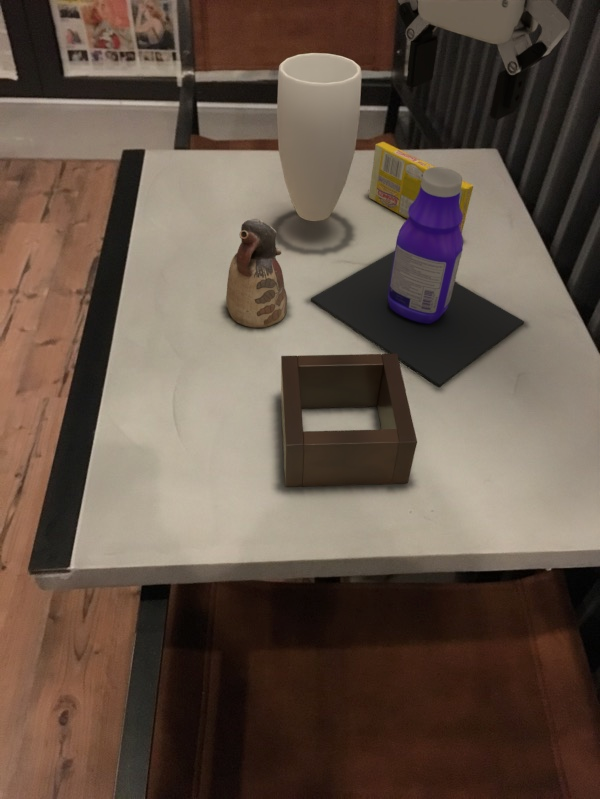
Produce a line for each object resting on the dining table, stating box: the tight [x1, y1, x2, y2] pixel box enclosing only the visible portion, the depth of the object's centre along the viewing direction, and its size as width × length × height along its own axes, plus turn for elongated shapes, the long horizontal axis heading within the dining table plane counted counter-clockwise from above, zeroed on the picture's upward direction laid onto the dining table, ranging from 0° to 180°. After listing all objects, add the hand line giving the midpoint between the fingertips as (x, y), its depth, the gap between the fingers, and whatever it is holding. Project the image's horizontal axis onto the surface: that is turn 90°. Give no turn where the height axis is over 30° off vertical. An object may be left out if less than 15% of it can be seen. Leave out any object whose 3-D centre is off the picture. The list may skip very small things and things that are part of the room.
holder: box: [280, 353, 418, 487], centre depth 66 cm, size 12×12×6 cm
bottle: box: [388, 166, 464, 324], centre depth 76 cm, size 7×6×17 cm
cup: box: [276, 52, 363, 222], centre depth 86 cm, size 10×10×22 cm
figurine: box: [225, 218, 288, 328], centre depth 78 cm, size 7×7×12 cm
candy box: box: [368, 141, 474, 234], centre depth 94 cm, size 16×2×8 cm, turn 41°
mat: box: [310, 250, 525, 388], centre depth 82 cm, size 20×16×1 cm
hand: (459, 98), depth 64 cm, fingers open, 9 cm apart
